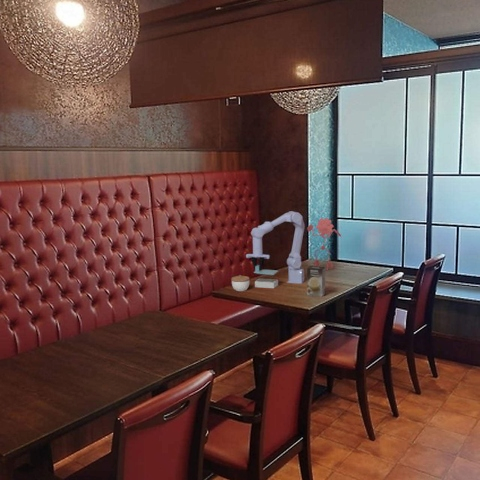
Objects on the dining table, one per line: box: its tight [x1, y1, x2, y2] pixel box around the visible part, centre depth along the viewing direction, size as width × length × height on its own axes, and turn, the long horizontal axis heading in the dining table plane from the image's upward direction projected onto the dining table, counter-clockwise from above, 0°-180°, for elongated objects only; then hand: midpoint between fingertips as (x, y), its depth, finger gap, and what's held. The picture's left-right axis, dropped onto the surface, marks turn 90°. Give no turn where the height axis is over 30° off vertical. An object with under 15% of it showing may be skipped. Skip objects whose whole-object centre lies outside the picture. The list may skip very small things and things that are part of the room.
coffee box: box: [306, 265, 326, 298], centre depth 297 cm, size 9×6×16 cm
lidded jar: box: [231, 274, 250, 292], centre depth 312 cm, size 11×11×9 cm
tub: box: [254, 277, 279, 289], centre depth 319 cm, size 12×8×4 cm, turn 67°
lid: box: [253, 264, 279, 276], centre depth 317 cm, size 13×9×4 cm
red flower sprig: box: [307, 217, 342, 271], centre depth 361 cm, size 15×26×35 cm, turn 54°
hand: (258, 269), depth 319 cm, fingers closed on lid, 2 cm apart
